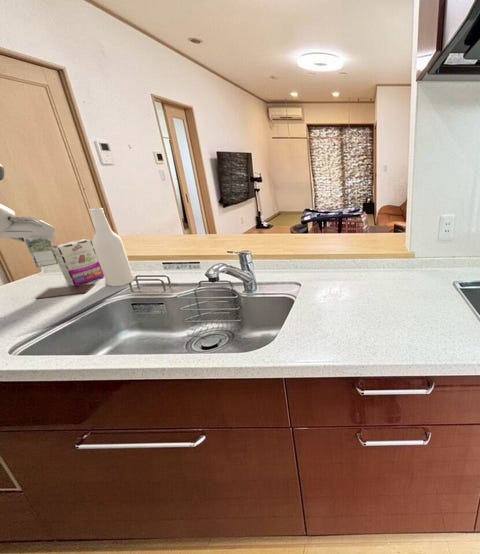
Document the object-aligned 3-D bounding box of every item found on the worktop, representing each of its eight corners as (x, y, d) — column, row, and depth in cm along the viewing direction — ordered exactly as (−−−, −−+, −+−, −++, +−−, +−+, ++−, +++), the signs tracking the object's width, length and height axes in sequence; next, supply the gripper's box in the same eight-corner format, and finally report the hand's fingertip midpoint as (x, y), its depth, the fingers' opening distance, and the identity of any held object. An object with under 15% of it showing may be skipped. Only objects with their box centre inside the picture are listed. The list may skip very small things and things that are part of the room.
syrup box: (57, 260, 108) (41, 220, 102) (59, 263, 104) (43, 223, 99) (34, 264, 104) (16, 223, 98) (36, 268, 100) (17, 226, 95)
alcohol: (138, 281, 122) (115, 208, 110) (112, 288, 115) (84, 211, 103) (129, 276, 126) (106, 205, 115) (104, 283, 119) (76, 209, 108)
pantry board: (36, 299, 106) (35, 298, 106) (50, 289, 114) (49, 288, 114) (85, 293, 111) (84, 292, 111) (95, 284, 119) (95, 283, 119)
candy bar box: (97, 275, 128) (83, 238, 121) (105, 276, 126) (92, 239, 120) (66, 285, 118) (49, 245, 112) (74, 286, 116) (58, 246, 110)
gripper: (33, 209, 90) (73, 232, 103) (-37, 208, 90) (12, 232, 102) (24, 226, 88) (66, 248, 101) (-48, 226, 87) (4, 248, 100)
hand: (39, 240), depth 101 cm, fingers closed on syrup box, 8 cm apart
